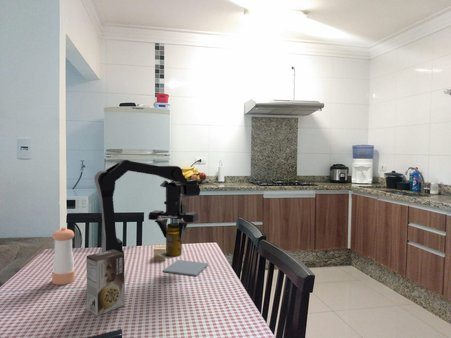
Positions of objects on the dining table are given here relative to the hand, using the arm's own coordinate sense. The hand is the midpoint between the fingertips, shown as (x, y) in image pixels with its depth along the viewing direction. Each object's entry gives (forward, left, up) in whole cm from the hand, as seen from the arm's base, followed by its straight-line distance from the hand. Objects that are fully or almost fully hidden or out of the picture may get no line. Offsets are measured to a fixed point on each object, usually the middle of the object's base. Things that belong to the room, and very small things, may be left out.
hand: (173, 238), depth 130 cm
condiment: (0, +1, -7) cm, 7 cm away
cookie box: (-34, +6, -14) cm, 37 cm away
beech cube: (+14, +13, -14) cm, 24 cm away
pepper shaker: (-21, +33, -14) cm, 41 cm away
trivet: (+6, -3, -13) cm, 15 cm away
